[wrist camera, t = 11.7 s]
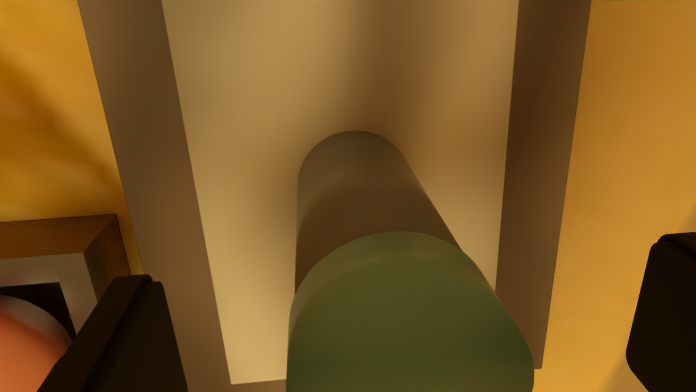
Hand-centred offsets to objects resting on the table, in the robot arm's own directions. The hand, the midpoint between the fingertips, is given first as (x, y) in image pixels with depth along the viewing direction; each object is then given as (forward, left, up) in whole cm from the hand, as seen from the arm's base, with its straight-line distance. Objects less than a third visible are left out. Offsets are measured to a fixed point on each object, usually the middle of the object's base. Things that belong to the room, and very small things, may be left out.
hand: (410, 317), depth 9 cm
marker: (0, +1, -9) cm, 8 cm away
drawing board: (0, +1, -10) cm, 10 cm away
